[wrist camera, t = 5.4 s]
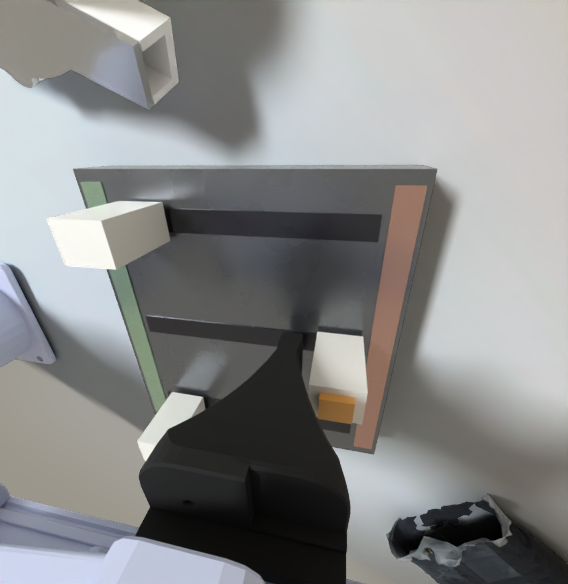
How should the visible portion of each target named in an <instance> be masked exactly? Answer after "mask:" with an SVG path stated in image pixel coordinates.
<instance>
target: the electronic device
mask: <svg viewBox="0 0 568 584" xmlns="http://www.w3.org/2000/svg"><path fill="white" fill-rule="evenodd" d="M473 504H474V503H473V502H465V503H461V504H458V505H449V506H442V507H441V509H431V510H428V512H427V513H426V514H423V515H421V516H420V517H421V519H422V522H423V523H424V524H423V525H422V526H426V527H427V526H431V525H435V524H440V523H443V522H448V523H449V524H450V525H452V526H453V525H455V524H459V520H458V518H459V517H461V516H463V515H468V516H469V515H470V514H471V513H472V511H470V510H469V508H470V507H471V506H472V505H473ZM475 505H476V506H478V507H480V508H482V509H484V510H486V511H488V512H490V513H492V514H494V515H496V516H497V519H498V521H499V523H500V524H501V526H502V538H500V539H498V540H495V541H492V540H489V539H487V538H480V539H477V540H474V541H470V542H466V543H464V544H462V545H460V546H459V547H456V546H454V545H452V544H450V543H449V542H451V541H452V540H450V541H448V542H444V541H439V540H438V539H436V538H434V535H435V533H434V532H433V533H431V534H429V535H423V534H424V532H425V531H419V530H417V529H416V527H417V525H416V524H415V522H414V521H413V520H414V519H415V518H416V516H415V517H407V518H406V519H404V520H402V519H401V518H398V520H397V521H396V522H395V524H394V526H393V528H392V530H391V532H390V533H388V534H386V535H387V538H388V541H389V545H390V549H391V552H392V554H393V555H394V556H395V557H396V558H397V560H398V561H411V562H413V563H415V564H416V565H418V566H419V567H421V568H422V569H423V570H424V571H425V572H426V573H427V574H429V575H430V576H431V577H432V578H433V579H434V580H435V581H436V582H437V583H439V584H568V564H566V563H565V562H564V560H563V559H562V558H561V557H559V556H557V555H556V554H555V553H554V552H553V551H551V550H550V549H548V548H547V547H546V546H545V545H544V544H543V543H541V542H540V541H539V540H538V539H537V538H535V537H534V536H533V535H532V534H531V533H530V532H528V531H526V530H524V529H523V528H521V527H519V526H518V525H516V524H515V523H513V522H512V521H511V520H510V519H508V518H507V517H506V516H505V514H504V513H503V512H502V511H501V509H500V508H499V507H498V506H497V505H496V503H495V502H494V501H493V500H492V498H491V497H490V496H489V495H488V493H487V497H483V500H481V501H480V502H475ZM470 525H473V523H471V524H469V525H466V526H470ZM443 526H444V524H441V525H436V526H432V527H430V528H431V530H434V529H439V528H442V527H443ZM466 526H462V527H466ZM454 527H456V528H462V527H461V526H454ZM480 530H489V529H480ZM491 530H492V529H491ZM428 536H432V537H431V538H430V537H428ZM440 538H444V537H440Z"/></svg>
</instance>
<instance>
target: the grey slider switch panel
mask: <svg viewBox="0 0 568 584" xmlns="http://www.w3.org/2000/svg"><path fill="white" fill-rule="evenodd" d="M73 171H74V174H75V177H76V180H77V183H78V186H79V189H80V192H81V194H82V197H83V200H84V203H85V206H86V209H88V208H92V207H96V206H100V205H104V204H108V203H113V202H117V201H141V202H162V203H163V207H164V212H165V217H166V222H167V227H168V231H169V236H170V241H169V242H167V243H165V244H164V245H162V246H160V247H158V248H156V249H154V250H152V251H150V252H149V253H147V254H145V255H143V256H141V257H139V258H137V259H136V260H134V261H132V262H130V263H128V264H126V265H124V266H122V267H121V268H119V269H117V270H113V269H107V272H108V275H109V278H110V281H111V284H112V287H113V290H114V293H115V296H116V299H117V302H118V305H119V308H120V311H121V314H122V317H123V320H124V323H125V326H126V329H127V332H128V335H129V338H130V341H131V344H132V347H133V350H134V353H135V356H136V359H137V362H138V365H139V368H140V371H141V374H142V377H143V380H144V383H145V386H146V389H147V392H148V395H149V398H150V401H151V404H152V406H153V409H154V412H155V415H156V414H157V412H158V411H159V410H160V408H161V407H162V405H163V404H164V403H165V401H166V400H167V398H168V397H169V396H170V394H171V393H172V392H176V393H182V394H188V395H194V396H200V397H203V399H204V404H205V409H207V408H209V407H211V406H212V405H214V404H215V403H217V402H219V401H220V400H221V399H223V398H224V397H226V396H227V395H228V394H230V393H231V392H232V391H234V390H235V389H236V388H238V387H239V386H240V385H241V384H242V383H244V382H245V381H246V380H247V379H248V378H249V377H251V376H252V375H253V374H254V373H255V372H256V371H257V370H258V369H259V368H260V367H261V366H262V365H263V364H264V363H265V362H266V361H267V359H268V358H269V357H270V356H271V355H272V354H273V352H274V351H275V350H276V349H277V346H278V342H279V340H280V337H281V336H282V334H283V332H289V333H299V334H303V361H302V377H303V381H304V384H305V388H306V391H307V394H308V390H309V380H310V374H311V368H312V362H313V355H314V349H315V343H316V337H317V332H325V333H335V334H344V335H353V336H363V340H364V352H365V365H366V377H367V390H368V394H367V400H366V406H365V411H364V417H363V423H362V424H356V423H352V424H346V423H340V422H334V421H328V420H322V419H318V417H317V419H318V421H319V423H320V425H321V428H322V429H323V431H324V433H325V435H326V437H327V439H328V441H329V443H330V444H331V446H332V447H336V448H341V449H347V450H352V451H358V452H363V453H369V454H374V452H375V447H376V443H377V438H378V434H379V429H380V425H381V420H382V416H383V411H384V407H385V402H386V398H387V393H388V389H389V384H390V380H391V375H392V371H393V366H394V362H395V357H396V353H397V348H398V344H399V339H400V335H401V330H402V326H403V321H404V317H405V312H406V308H407V303H408V299H409V294H410V290H411V285H412V281H413V276H414V272H415V267H416V263H417V258H418V254H419V249H420V245H421V240H422V236H423V231H424V227H425V222H426V218H427V213H428V209H429V204H430V200H431V195H432V191H433V186H434V182H435V177H436V173H437V169H436V168H432V167H428V166H424V165H278V166H102V167H90V168H78V169H73Z"/></svg>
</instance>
